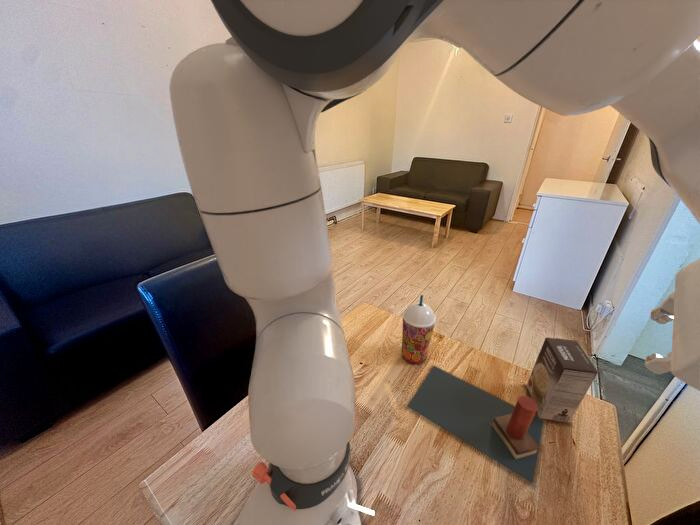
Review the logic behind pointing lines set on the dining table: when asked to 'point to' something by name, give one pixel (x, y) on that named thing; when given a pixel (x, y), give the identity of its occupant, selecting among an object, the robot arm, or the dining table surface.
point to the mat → (472, 418)
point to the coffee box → (560, 379)
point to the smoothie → (417, 331)
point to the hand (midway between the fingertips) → (653, 340)
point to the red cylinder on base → (518, 428)
